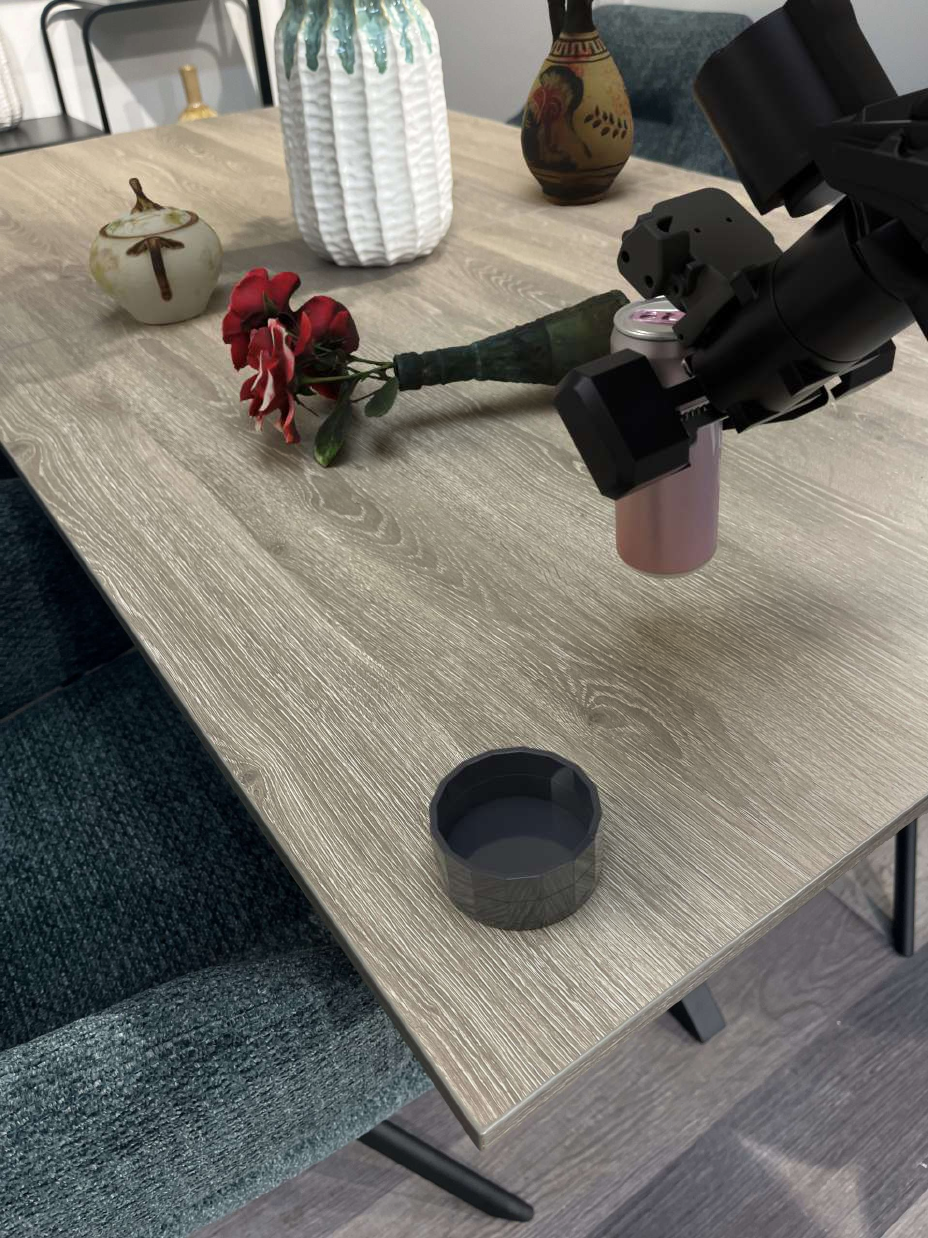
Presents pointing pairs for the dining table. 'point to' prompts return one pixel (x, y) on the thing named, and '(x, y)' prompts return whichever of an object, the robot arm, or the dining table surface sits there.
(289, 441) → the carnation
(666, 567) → the beverage can
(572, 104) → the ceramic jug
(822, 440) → the dining table surface
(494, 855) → the pot
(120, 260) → the sugar bowl
